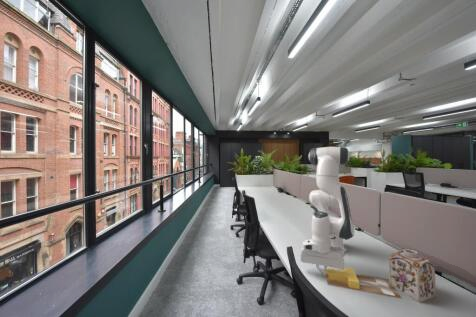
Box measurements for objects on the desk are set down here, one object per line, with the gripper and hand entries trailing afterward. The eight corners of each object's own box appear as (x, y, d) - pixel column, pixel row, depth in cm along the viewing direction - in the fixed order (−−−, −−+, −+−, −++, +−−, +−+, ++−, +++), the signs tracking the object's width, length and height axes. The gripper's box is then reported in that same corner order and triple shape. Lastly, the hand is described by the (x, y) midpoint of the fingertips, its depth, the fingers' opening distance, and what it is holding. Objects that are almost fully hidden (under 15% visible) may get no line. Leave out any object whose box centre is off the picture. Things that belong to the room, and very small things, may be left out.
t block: (327, 270, 100) (326, 264, 101) (353, 274, 96) (353, 268, 97) (329, 283, 89) (329, 277, 89) (359, 289, 85) (359, 282, 85)
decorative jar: (437, 297, 82) (435, 254, 82) (420, 304, 78) (418, 259, 78) (404, 281, 93) (403, 244, 94) (388, 286, 89) (387, 247, 90)
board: (324, 270, 102) (324, 269, 102) (388, 281, 92) (388, 279, 92) (327, 286, 89) (327, 284, 89) (402, 301, 79) (402, 298, 79)
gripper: (343, 245, 96) (343, 273, 95) (300, 240, 103) (300, 266, 102) (345, 251, 90) (346, 281, 89) (299, 245, 97) (300, 272, 96)
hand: (321, 273), depth 96 cm, fingers closed
